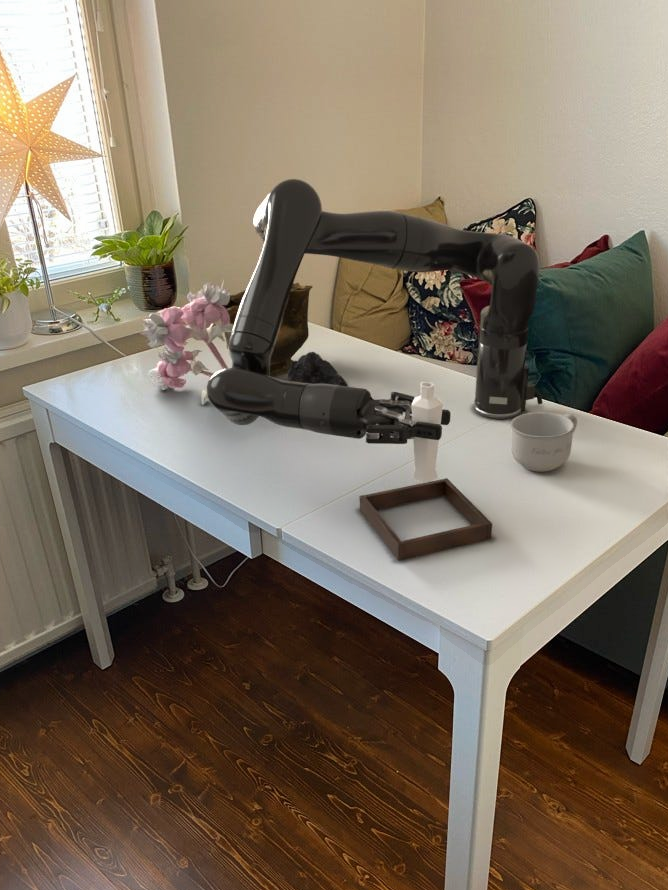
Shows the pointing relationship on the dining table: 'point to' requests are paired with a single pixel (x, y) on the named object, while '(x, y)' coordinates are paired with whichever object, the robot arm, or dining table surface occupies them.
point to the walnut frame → (427, 543)
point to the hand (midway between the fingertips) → (445, 425)
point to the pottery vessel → (282, 326)
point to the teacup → (542, 439)
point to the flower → (187, 335)
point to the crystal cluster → (314, 371)
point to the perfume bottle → (424, 449)
